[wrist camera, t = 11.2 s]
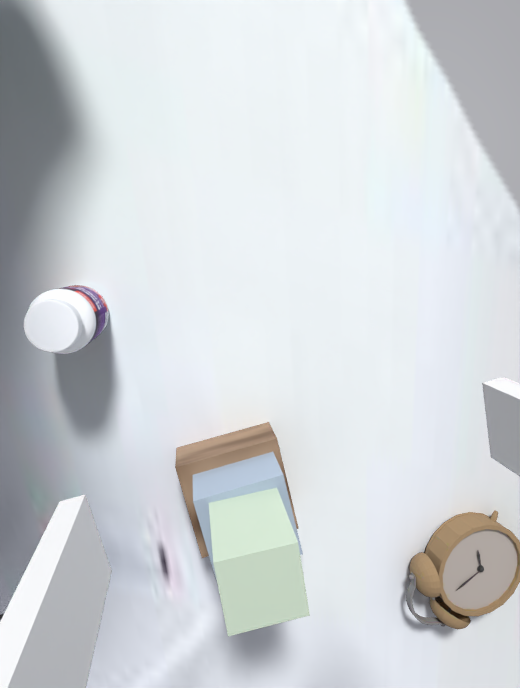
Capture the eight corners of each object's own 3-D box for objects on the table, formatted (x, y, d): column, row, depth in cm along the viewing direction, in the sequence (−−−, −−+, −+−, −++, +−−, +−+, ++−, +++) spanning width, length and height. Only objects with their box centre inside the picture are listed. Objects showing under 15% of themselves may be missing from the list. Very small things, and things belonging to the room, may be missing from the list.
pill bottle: (117, 296, 45) (98, 306, 35) (99, 348, 45) (75, 371, 36) (60, 276, 44) (25, 280, 34) (43, 329, 44) (3, 347, 35)
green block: (208, 502, 39) (213, 562, 32) (276, 487, 40) (298, 542, 32) (220, 564, 41) (228, 636, 33) (286, 548, 41) (309, 615, 34)
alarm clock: (540, 572, 55) (452, 664, 52) (507, 551, 60) (424, 634, 57) (500, 503, 52) (404, 596, 49) (468, 487, 57) (379, 571, 54)
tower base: (176, 446, 48) (175, 467, 44) (268, 421, 50) (276, 438, 45) (200, 529, 51) (202, 558, 46) (288, 503, 52) (298, 528, 47)
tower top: (192, 474, 44) (193, 501, 39) (272, 451, 45) (283, 474, 40) (213, 547, 46) (216, 581, 41) (290, 523, 47) (302, 553, 42)
